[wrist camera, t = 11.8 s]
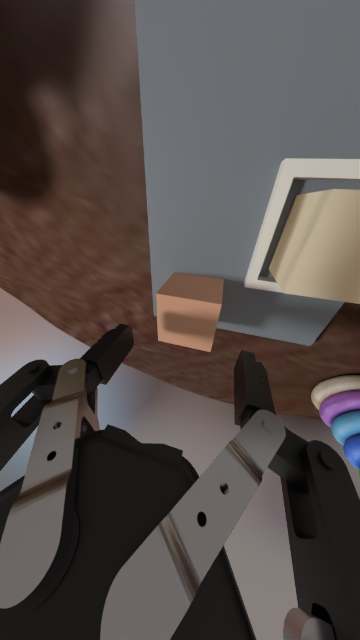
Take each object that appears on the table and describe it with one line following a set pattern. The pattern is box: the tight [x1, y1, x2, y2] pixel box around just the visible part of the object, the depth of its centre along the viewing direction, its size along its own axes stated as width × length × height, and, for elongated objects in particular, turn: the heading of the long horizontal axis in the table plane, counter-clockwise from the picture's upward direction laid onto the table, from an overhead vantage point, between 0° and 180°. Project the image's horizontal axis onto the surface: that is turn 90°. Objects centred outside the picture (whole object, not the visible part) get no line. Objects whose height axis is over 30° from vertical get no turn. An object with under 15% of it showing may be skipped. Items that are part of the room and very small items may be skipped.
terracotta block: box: [156, 272, 224, 352], centre depth 15 cm, size 5×5×5 cm
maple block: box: [268, 189, 360, 304], centre depth 10 cm, size 5×5×5 cm
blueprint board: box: [135, 0, 360, 346], centre depth 13 cm, size 18×20×2 cm
